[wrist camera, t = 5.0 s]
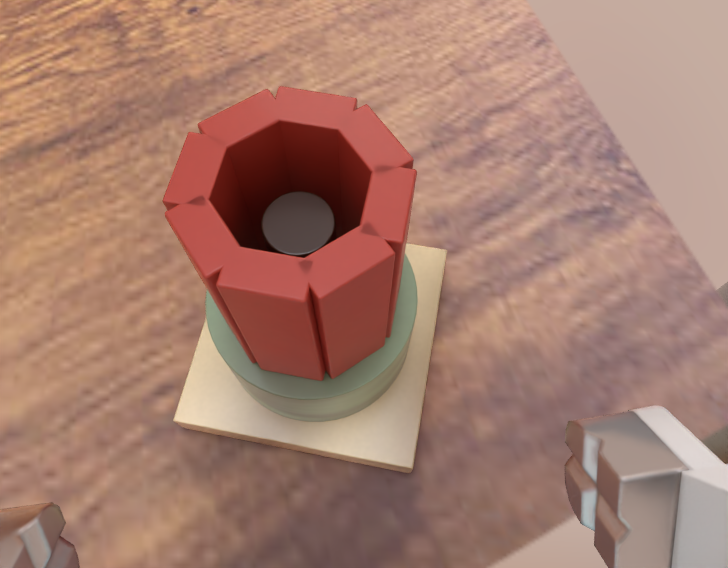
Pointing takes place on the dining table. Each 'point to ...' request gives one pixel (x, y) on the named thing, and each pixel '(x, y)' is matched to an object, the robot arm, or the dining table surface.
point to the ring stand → (330, 396)
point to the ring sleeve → (284, 272)
